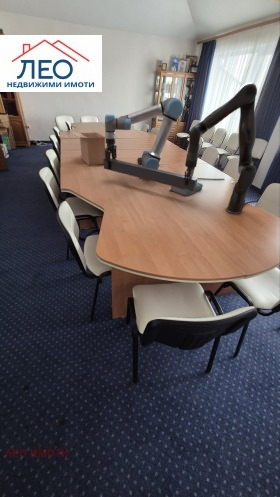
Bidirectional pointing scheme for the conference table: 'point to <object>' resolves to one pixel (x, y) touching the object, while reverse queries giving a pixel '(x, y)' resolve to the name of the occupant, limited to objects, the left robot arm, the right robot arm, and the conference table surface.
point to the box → (92, 146)
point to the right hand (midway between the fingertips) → (187, 183)
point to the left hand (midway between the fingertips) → (111, 168)
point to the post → (152, 174)
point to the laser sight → (140, 159)
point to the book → (186, 192)
